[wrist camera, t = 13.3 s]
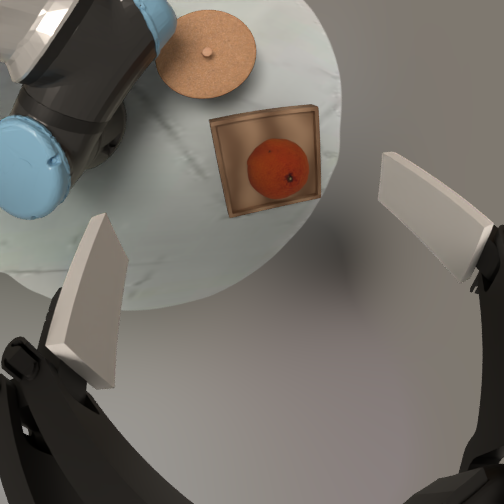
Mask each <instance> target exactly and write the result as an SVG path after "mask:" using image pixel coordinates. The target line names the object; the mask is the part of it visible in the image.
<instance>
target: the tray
mask: <svg viewBox="0 0 504 504" xmlns="http://www.w3.org/2000/svg"><path fill="white" fill-rule="evenodd" d="M209 123H210V128H211V133H212V138H213V143H214V148H215V153H216V158H217V163H218V168H219V173H220V177H221V182H222V187H223V192H224V197H225V201H226V206H227V211H228V214H229V217H230V218H232V217H237V216H241V215H245V214H249V213H254V212H258V211H262V210H267V209H271V208H276V207H280V206H285V205H289V204H294V203H298V202H303V201H308V200H313V199H317V198H321V159H320V129H319V110H318V107H317V106H315V105H312V104H309V105H298V106H289V107H280V108H272V109H265V110H258V111H252V112H246V113H240V114H235V115H229V116H224V117H219V118H215V119H210V120H209ZM268 139H287V140H290V141H292V142H294V143H296V144H297V145H298V146H300V147H301V148H302V150H303V151H304V152H305V154H306V156H307V159H308V163H309V174H308V180H307V182H306V184H305V185H304V186H303V188H302V189H300V190H299V191H298V192H296V193H295V194H293V195H290V196H288V197H286V198H282V199H270V198H267V197H265V196H263V195H261V194H260V193H258V192H257V191H256V190H255V189H254V188H253V187H252V185H251V184H250V182H249V179H248V172H247V160H248V158H249V156H250V155H251V153H252V152H253V150H254V149H255V148H256V147H257V146H259V145H260V144H261V143H263V142H264V141H266V140H268Z"/></svg>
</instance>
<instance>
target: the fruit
mask: <svg viewBox="0 0 504 504" xmlns="http://www.w3.org/2000/svg"><path fill="white" fill-rule="evenodd" d="M247 172H248V179H249V182H250V184H251V185H252V187H253V188H254V189H255V190H256V191H257V192H258V193H260V194H261V195H263V196H265V197H267V198H270V199H282V198H286V197H288V196H290V195H293V194H295V193H296V192H298V191H299V190H300V189H302V188H303V186H304V185H305V184H306V182H307V180H308V174H309V163H308V159H307V156H306V154H305V152H304V151H303V150H302V148H301V147H300V146H298V145H297V144H296V143H294V142H292V141H290V140H287V139H268V140H266V141H264V142H263V143H261V144H260V145H259V146H257V147H256V148H255V149H254V150H253V152H252V153H251V155H250V156H249V158H248V160H247Z"/></svg>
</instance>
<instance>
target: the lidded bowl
mask: <svg viewBox="0 0 504 504" xmlns="http://www.w3.org/2000/svg"><path fill="white" fill-rule="evenodd" d="M255 59H256V44H255V40H254V37H253V35H252V33H251V31H250V30H249V29H248V27H247V26H246V25H245V24H244V23H243V22H242V21H241V20H239V19H238V18H236V17H235V16H233V15H230V14H228V13H225V12H222V11H216V10H201V11H195V12H192V13H189V14H186V15H184V16H182V17H180V18H178V19H177V26H176V30H175V33H174V34H173V36H172V37H171V38H170V39H169V40H168V42H167V43H166V44H165V45H164V47H163V48H162V49H161V51H160V54H159V56H158V57H157V58H156V59H155V62H156V67H157V70H158V73H159V75H160V77H161V78H162V80H163V81H164V82H165V83H166V85H168V86H169V87H170V88H171V89H172V90H174V91H176V92H177V93H179V94H182V95H184V96H187V97H191V98H198V99H208V98H214V97H218V96H222V95H224V94H227V93H229V92H231V91H232V90H234V89H236V88H237V87H238V86H239V85H241V84H242V83H243V82H244V81H245V79H246V78H247V77H248V76H249V74H250V72H251V71H252V69H253V66H254V63H255Z"/></svg>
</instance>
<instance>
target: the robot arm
mask: <svg viewBox="0 0 504 504" xmlns="http://www.w3.org/2000/svg"><path fill="white" fill-rule="evenodd" d="M176 26H177V18H176V15H175V12H174V10H173V9H172V7H171V6H170V4H169V3H168V2H167V0H0V62H4V63H5V64H6V65H7V68H8V71H9V74H10V77H11V79H12V81H13V82H16V83H21V84H23V85H22V88H21V90H20V92H19V94H18V96H17V99H16V101H15V103H14V106H13V108H12V111H11V113H10V115H9V116H8V117H5V118H4V119H2V120H1V121H0V207H1V208H2V209H3V210H4V211H6V212H7V213H9V214H11V215H12V216H15V217H17V218H20V219H26V220H34V219H36V218H42V217H45V216H47V215H48V214H50V213H51V212H52V211H53V210H54V209H55V208H56V207H57V206H58V205H59V204H60V203H62V202H63V201H64V199H65V198H66V197H67V195H68V193H69V191H70V189H71V188H72V187H73V185H74V184H75V183H76V181H77V180H78V179H79V178H80V176H81V175H82V174H83V173H84V171H85V170H87V169H91V168H94V167H96V166H98V165H100V164H102V163H103V162H104V161H106V160H107V159H108V158H109V157H110V156H111V155H112V154H113V153H114V151H115V150H116V149H117V147H118V146H119V144H120V142H121V141H122V138H123V136H124V133H125V128H126V111H125V107H124V104H123V100H124V98H125V97H126V95H127V94H128V92H129V91H130V90H131V88H132V87H133V85H134V84H135V83H136V81H137V80H138V79H139V77H140V76H141V75H142V73H143V72H144V71H145V69H146V68H147V67H148V66H149V64H150V63H151V62H152V61H153V60H155V59H156V58H157V57H158V56H159V54H160V51H161V49H162V48H163V47H164V45H165V44H166V43H167V42H168V40H169V39H170V38H171V37H172V36H173V34H174V33H175V30H176ZM378 201H380V203H382V204H383V205H384V206H385V207H386V208H387V209H388V210H389V211H390V212H391V213H393V214H394V215H395V216H396V217H397V218H398V219H399V220H400V221H401V222H402V223H403V224H404V225H405V226H406V227H407V228H408V229H410V231H411V232H412V233H413V234H414V235H415V236H416V237H417V238H418V239H419V240H420V241H421V242H422V243H423V244H424V245H425V246H426V247H427V248H428V249H429V250H430V251H431V252H432V253H433V254H434V255H435V256H436V257H437V258H438V260H440V262H441V263H442V264H443V265H444V266H445V267H446V268H447V269H448V271H449V272H450V273H451V274H452V275H453V276H454V277H455V279H456V280H457V281H458V282H459V283H462V282H464V281H466V280H468V279H469V278H470V277H471V275H472V273H473V271H474V269H475V267H477V269H478V270H479V273H478V275H477V277H476V279H475V280H474V283H473V284H472V286H471V288H470V292H473V290H474V288H475V286H478V288H477V290H476V291H475V293H476V294H479V299H480V309H481V322H482V342H483V343H482V345H483V364H482V387H481V399H480V408H479V416H478V424H477V428H476V432H475V434H474V435H473V437H472V438H471V439H470V441H469V442H468V444H467V446H466V448H465V451H464V454H463V458H462V463H461V466H460V470H459V473H458V474H456V475H453V476H449V477H445V478H439V479H437V480H436V481H434V482H433V483H431V484H430V485H428V486H427V487H425V488H424V489H422V490H421V491H419V492H417V493H415V494H414V495H413V496H412V497H410V498H409V499H408V500H407V501H406V502H405V503H403V504H504V464H499V462H500V461H501V459H502V458H503V457H504V225H500V226H499V228H497V227H496V226H495V225H494V223H493V222H492V221H490V220H489V219H488V218H487V217H486V216H485V215H483V214H482V213H481V212H480V211H479V210H477V209H476V208H475V207H474V206H473V205H471V204H470V203H469V202H468V201H466V200H465V199H464V198H462V197H461V196H460V195H458V194H457V193H456V192H454V191H453V190H452V189H450V188H449V187H448V186H446V185H445V184H443V183H442V182H440V181H439V180H438V179H436V178H435V177H433V176H432V175H430V174H429V173H427V172H426V171H424V170H423V169H421V168H420V167H418V166H417V165H415V164H414V163H412V162H410V161H409V160H407V159H405V158H404V157H402V156H400V155H399V154H397V153H395V152H384V153H382V165H381V176H380V186H379V194H378ZM128 261H129V260H128V258H127V256H126V254H125V252H124V250H123V248H122V246H121V244H120V242H119V240H118V238H117V235H116V233H115V231H114V229H113V227H112V225H111V223H110V220H109V218H108V216H107V214H106V213H103V214H100V215H97V216H94V217H91V220H90V222H89V224H88V226H87V228H86V230H85V232H84V235H83V237H82V239H81V241H80V244H79V246H78V248H77V251H76V253H75V255H74V258H73V260H72V263H71V265H70V268H69V271H68V273H67V276H66V279H65V281H64V284H63V287H61V288H59V289H58V291H57V292H56V294H55V295H54V297H53V298H52V301H51V304H50V307H49V312H48V313H47V316H46V321H45V323H44V326H43V330H42V333H41V337H40V341H39V345H38V349H35V348H34V347H33V346H32V345H31V344H30V343H29V342H28V341H27V340H26V339H25V338H24V337H17V338H15V339H13V340H12V341H11V342H10V343H9V344H8V345H7V347H6V348H5V351H4V353H3V356H2V361H1V365H2V369H4V370H5V371H6V372H7V373H8V374H9V375H11V376H12V377H13V379H11V380H9V379H8V378H6V377H5V376H4V375H3V374H0V478H1V482H2V485H3V488H4V491H5V494H6V497H7V500H8V503H9V504H193V503H192V502H191V501H189V500H188V499H187V498H186V497H184V496H183V495H182V494H181V493H180V492H179V491H178V490H176V489H175V488H174V487H173V486H172V485H171V484H169V483H168V482H167V481H166V480H165V479H164V478H163V477H162V476H161V475H160V474H159V473H158V472H157V471H155V470H154V469H153V468H152V467H151V466H150V465H149V464H148V463H147V462H146V461H145V460H144V459H143V458H142V456H140V454H139V453H138V452H137V451H136V450H135V449H134V448H133V447H132V446H131V445H130V443H129V442H128V441H127V440H126V439H125V438H124V437H123V436H122V434H121V433H120V432H119V431H118V430H117V429H116V427H115V426H114V425H113V423H112V422H111V421H110V420H109V418H108V417H107V416H106V415H105V413H104V412H103V411H102V409H101V408H100V407H99V405H98V404H97V403H96V401H95V400H94V398H93V397H92V396H91V395H90V394H89V393H88V392H87V391H86V385H87V383H89V384H90V385H91V386H93V387H94V388H95V389H109V388H114V387H115V366H116V352H117V351H116V350H117V340H118V329H119V320H120V312H121V304H122V297H123V290H124V284H125V278H126V272H127V266H128ZM22 426H24V427H26V428H27V429H28V431H29V435H26V434H24V433H23V429H22Z"/></svg>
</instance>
